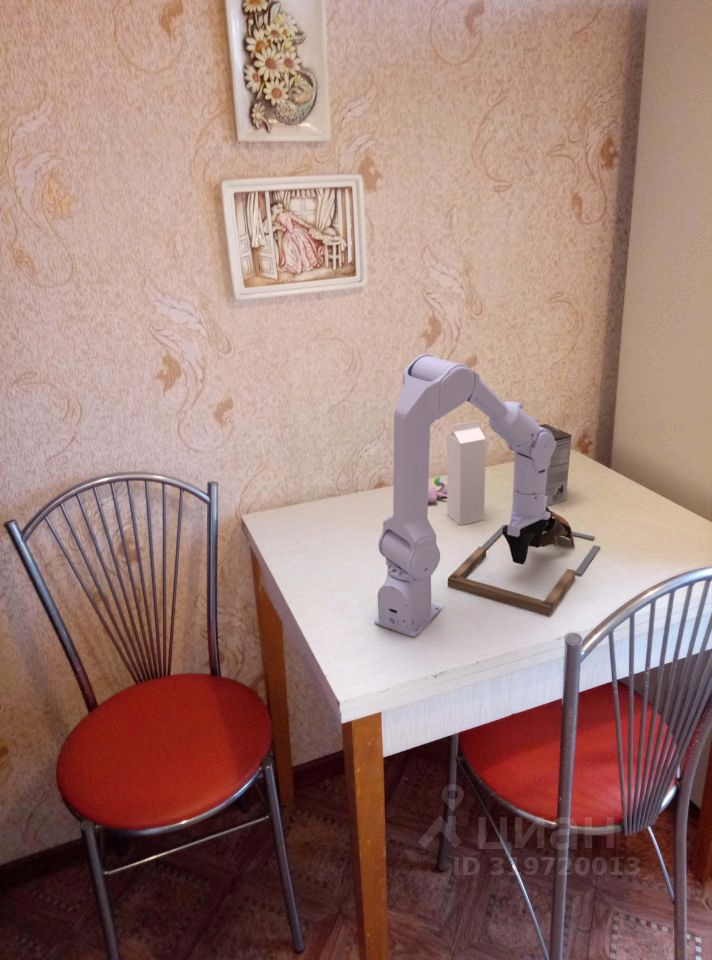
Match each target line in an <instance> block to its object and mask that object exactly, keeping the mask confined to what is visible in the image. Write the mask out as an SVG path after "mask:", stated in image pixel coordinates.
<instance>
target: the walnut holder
mask: <svg viewBox="0 0 712 960" xmlns="http://www.w3.org/2000/svg"><path fill="white" fill-rule="evenodd" d="M486 557H487V550H486V548H483V547H482V546H478V547H477V548H476V549H475V550H474V551H473V552H472V553H471V554H470V555H469V556H468V557H467V558H466V559H465V561H463V562H462V563H461V564H460V565H459V566H458V567H457V568H456V569H455V570H454V571H453V572H452V573H451V574H450V575H449V576H448V577H447V587H448V588H451V589H454V590H457V591H461V592H464V593H469V594H472V595H474V596H478V597H481V598H485V599H488V600H492V601H494V602H495V601H496V602H499V603H500V604H501V603H502V604H505V605H509V606H512V607H515V608H518V609H522V610H525V611H529V612H533V613H535V614H539V615H542V616H545V617H546V616H547V617H550V616H551V615H552V614H553V612H554V610H555V609H556V608H557V606H558V605H559V603H560V602H561V600H562V599H563V597H564V596H565V594H566V593H567V592H568V590H569V589H570V587H571V586H572V585H573V583H574V581H575V580H576V575H575V573H576V570H575V569H574V570H573V569H570V568H567V569H566V570H565V572H564V573H563V574H562V576H561V577H560V578H559V579H558V581H557V583H556V584H555V585H554V586H553V588H552V589H551V591H550V592H549V594H548V595H547V596H546V598H545V599H539V598H536V597H532V596H529V595H525V594H522V593H518V592H514V591H512V590H508V589H504V588H502V587H501V588H500V587H498V586H495V585H490V584H486V583H483V582H480V581H476V580H472V579H470V578H467V577H468V576H469V575H470V574H471V573H472V572H473V571H474V570H475V568H476V567H477V566H479V564H480V563H482V561H484V559H485V558H486Z"/></svg>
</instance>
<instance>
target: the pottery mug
mask: <svg viewBox="0 0 712 960" xmlns="http://www.w3.org/2000/svg"><path fill="white" fill-rule="evenodd" d="M545 508H546V510H550V508H549V507H548V506H546V507H545ZM550 511H551V512H552V516H551V517H550V519H549V520H548V522H547V524H546V526H545V529H544V532H543V535H542V538H541V542H540V544H539V547H538V548H540V547H541V548H542V547H547V546H549V545H553V546H558V541H557V538H556V537H564V538H567V539H569V540H570V542H571V547H572V548H574V547H575V538H574V536H573V534H572V532H573V531H572V528H571V526H570V523H569V522H568V521H567V520H566V519H565V518H564V517H563V516H561V515H559V514H557V513H556V512H553V511H552V510H550Z"/></svg>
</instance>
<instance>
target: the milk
mask: <svg viewBox="0 0 712 960" xmlns="http://www.w3.org/2000/svg"><path fill="white" fill-rule="evenodd" d="M486 439H487V438H486V436H485V434H484V433H483V432H482V430H481V428H480V421H479V420H473V421H467V422H460V423H455V424H454V425H453V431H452V432H450V433H449V434H447V435H446V481H447V483H446V485H447V497H446V499H447V500H446V507H447V509H446V512H447V513H446V515H447V516H448V517H449V518H451V519H452V520H453V521H454V522H456V524H458V525H459V526H464V525H467V524H471V523H472V524H473V523H476V522H481V521H484V520H485V497H486V496H485V495H486V494H485V491H486V484H485V483H486V447H487V446H486V445H487V443H486V442H487V440H486Z"/></svg>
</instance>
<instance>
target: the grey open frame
mask: <svg viewBox="0 0 712 960" xmlns="http://www.w3.org/2000/svg"><path fill="white" fill-rule="evenodd" d="M506 525H507V524H502V525H501V526H500V527H499V529H498V530H496V531H495V532H494V534H492V536H490V538H489V539H488V540H486V542H484V544H483V545H482V546H481V547H483V548H486V551H488V549H489V548H491V546H492V545H493V544H494V543H495V542H496V541H497V540H498V539H500V537H501V536H503V534H502V529H503V528H504V527H505V526H506ZM572 534H573V537H575V538H578V539H579V538H580V539H583V540H588V541H594V540H595V536H594V535H589V534H584V533H581V532H577V531H572ZM600 549H601V546H599V545H597V544H596V545H595V544H593V546H592V547H591V549H590V550H589V552H588V553H587V555H586V556H585V557H584V559H583V560H582V562H581V563H580V564H579V565H578V566H577V568H576V570H575V571H576V573H575V576H577V577H582V575H583V574H584V572H585V571H586V570H587V568H588V567H589V565H590V564H591V562H592V560H593V559H594V558H595V556H596V555H597V554H598V552H599V551H600Z"/></svg>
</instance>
